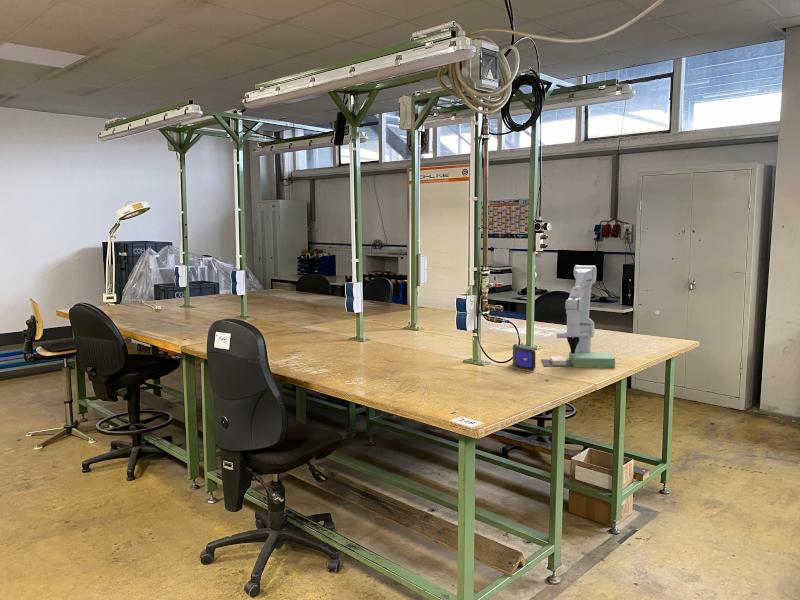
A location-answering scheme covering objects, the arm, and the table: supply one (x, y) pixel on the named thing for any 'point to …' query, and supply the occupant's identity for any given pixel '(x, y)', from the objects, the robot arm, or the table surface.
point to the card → (558, 360)
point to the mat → (548, 364)
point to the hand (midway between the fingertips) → (572, 353)
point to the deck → (592, 359)
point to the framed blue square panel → (523, 357)
